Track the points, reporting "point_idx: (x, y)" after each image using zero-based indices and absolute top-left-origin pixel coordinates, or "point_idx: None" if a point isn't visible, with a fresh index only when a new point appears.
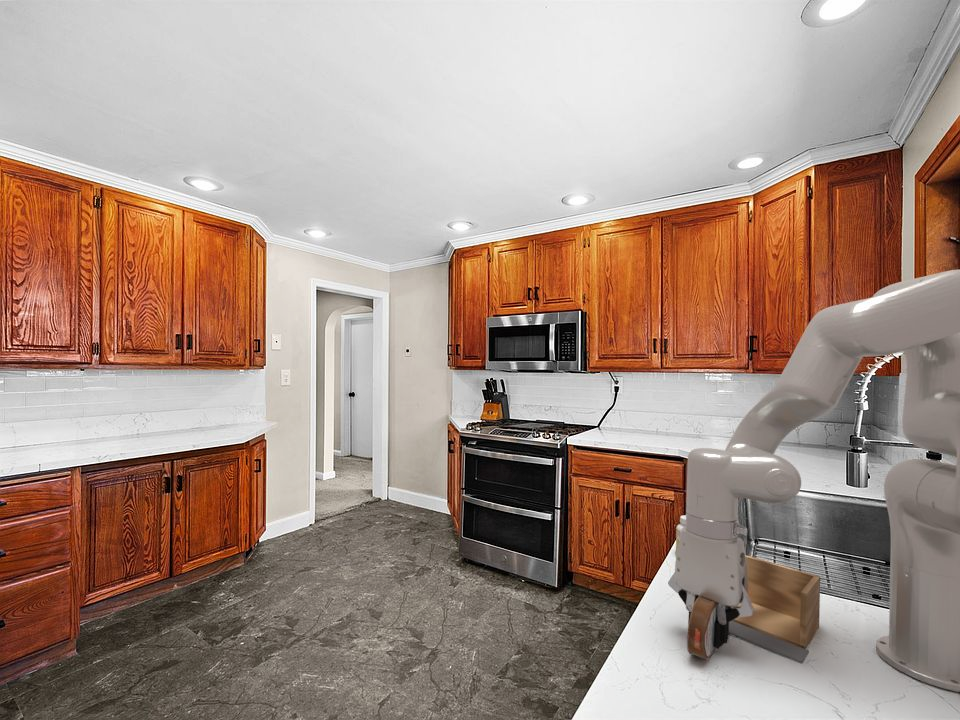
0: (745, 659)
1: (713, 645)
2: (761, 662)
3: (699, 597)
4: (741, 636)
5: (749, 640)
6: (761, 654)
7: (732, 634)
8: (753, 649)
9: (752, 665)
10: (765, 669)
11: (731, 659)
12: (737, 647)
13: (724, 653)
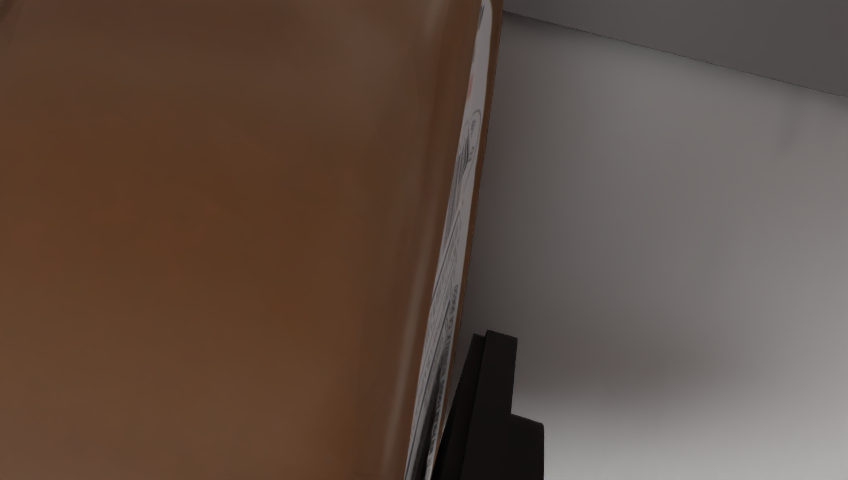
0: (677, 390)
1: (432, 433)
2: (811, 373)
3: None
4: (678, 34)
5: (760, 74)
6: (842, 243)
7: (582, 27)
8: (775, 192)
9: (725, 444)
10: (825, 453)
11: (570, 436)
12: (623, 239)
13: (518, 383)
